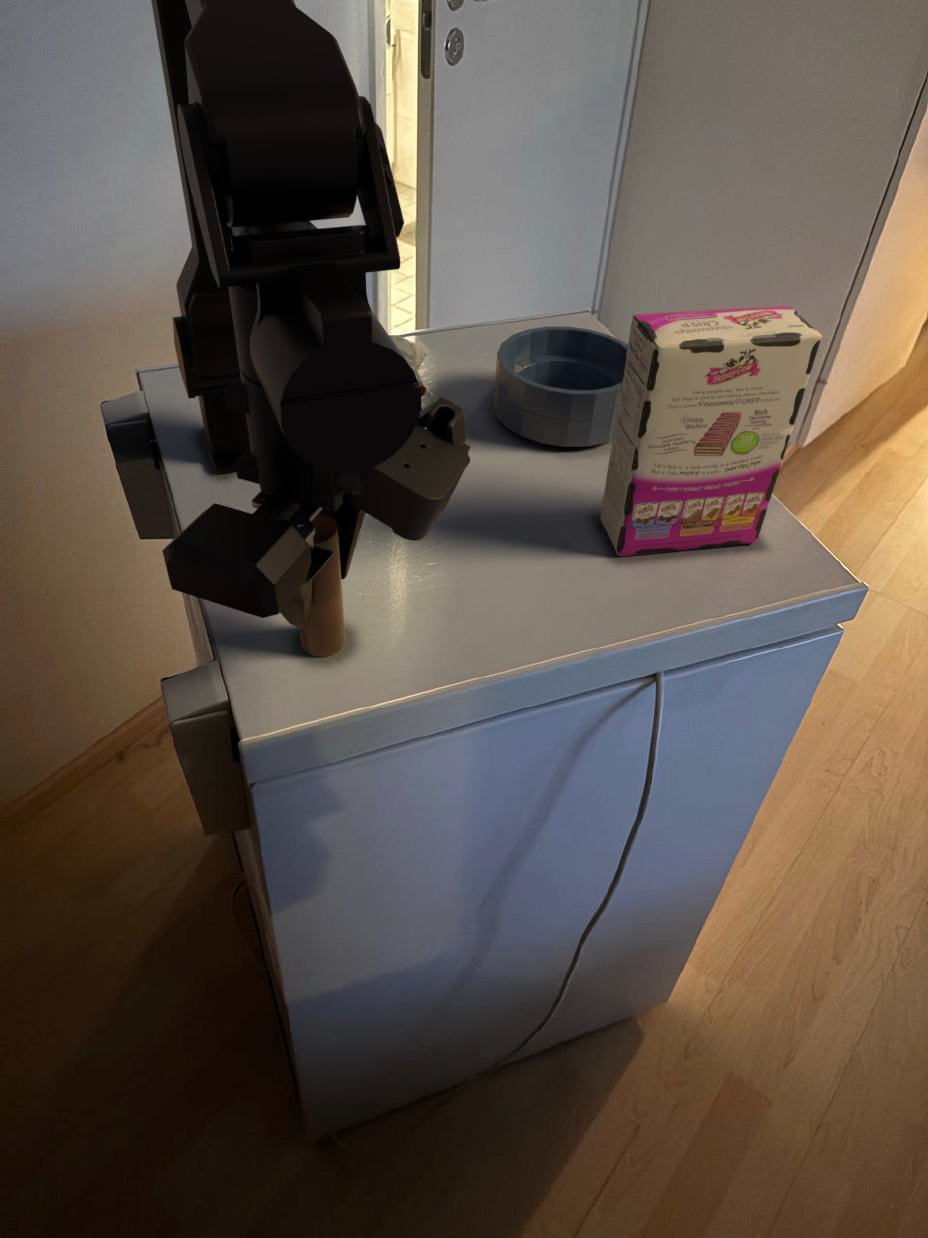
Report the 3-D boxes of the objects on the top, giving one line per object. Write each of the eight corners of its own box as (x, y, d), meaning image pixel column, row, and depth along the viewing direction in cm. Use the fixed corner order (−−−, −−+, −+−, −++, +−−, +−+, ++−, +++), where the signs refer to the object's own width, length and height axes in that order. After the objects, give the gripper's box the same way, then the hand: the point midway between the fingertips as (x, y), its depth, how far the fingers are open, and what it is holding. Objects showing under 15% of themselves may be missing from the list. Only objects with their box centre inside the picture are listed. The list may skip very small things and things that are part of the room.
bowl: (531, 464, 73) (538, 404, 69) (471, 394, 81) (474, 337, 77) (657, 438, 77) (670, 379, 73) (588, 373, 85) (596, 318, 81)
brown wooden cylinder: (307, 661, 55) (295, 547, 49) (295, 632, 57) (282, 519, 51) (351, 650, 56) (344, 537, 50) (337, 622, 58) (329, 509, 52)
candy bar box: (730, 506, 70) (792, 302, 59) (757, 545, 66) (829, 336, 55) (594, 517, 68) (631, 309, 57) (614, 558, 64) (658, 344, 53)
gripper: (361, 504, 35) (371, 752, 46) (515, 321, 48) (495, 548, 59) (126, 439, 38) (187, 688, 49) (331, 282, 51) (344, 506, 62)
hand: (319, 600), depth 54 cm, fingers open, 5 cm apart
